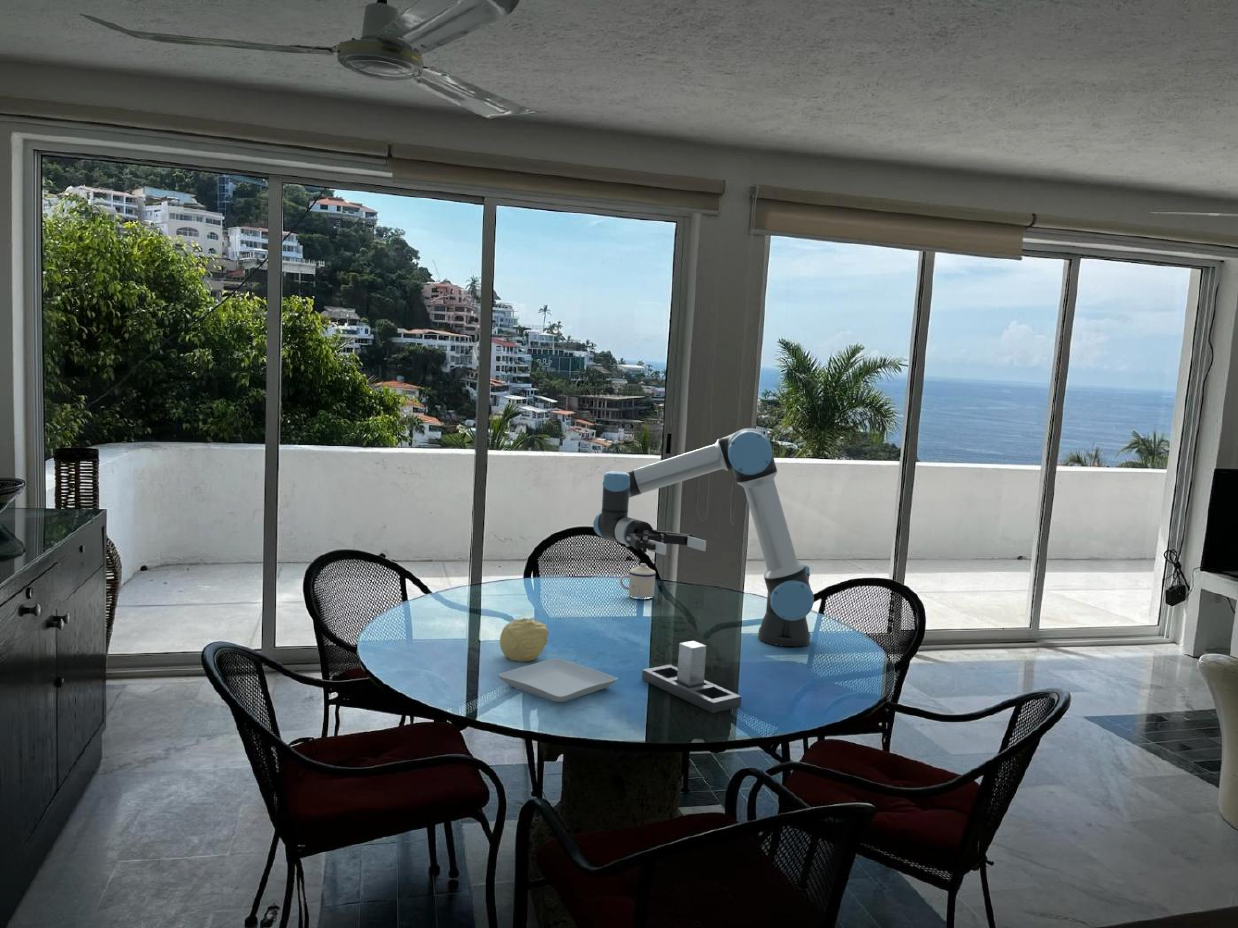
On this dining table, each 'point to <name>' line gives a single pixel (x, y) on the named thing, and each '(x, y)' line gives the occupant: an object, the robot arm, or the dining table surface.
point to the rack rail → (692, 690)
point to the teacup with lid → (640, 581)
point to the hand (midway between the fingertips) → (685, 547)
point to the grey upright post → (691, 664)
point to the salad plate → (557, 679)
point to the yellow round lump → (523, 639)
